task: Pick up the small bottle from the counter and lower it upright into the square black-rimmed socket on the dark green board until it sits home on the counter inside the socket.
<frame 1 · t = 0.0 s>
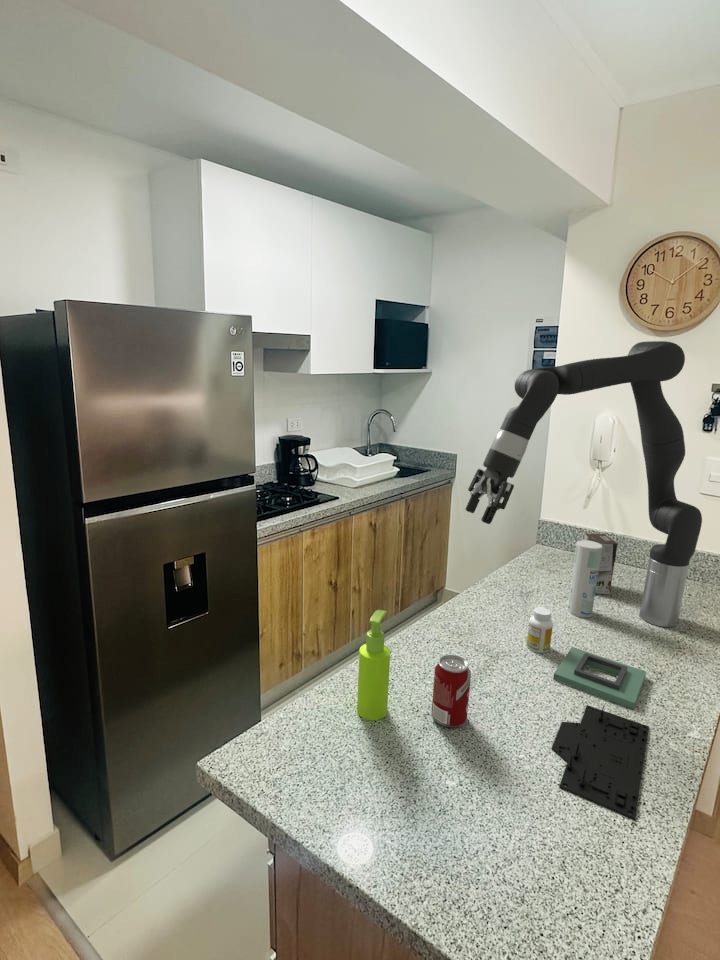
hand: (477, 517, 125), 31 cm above the worktop, tool tilted 20°, fingers open, 8 cm apart
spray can: (579, 612, 148), on the worktop
soda can: (448, 719, 103), on the worktop
circuit board: (597, 755, 96), on the worktop
socket board: (599, 678, 118), on the worktop
coffee box: (593, 588, 165), on the worktop
soap dispenser: (372, 709, 105), on the worktop
supplement bottle: (537, 648, 129), on the worktop
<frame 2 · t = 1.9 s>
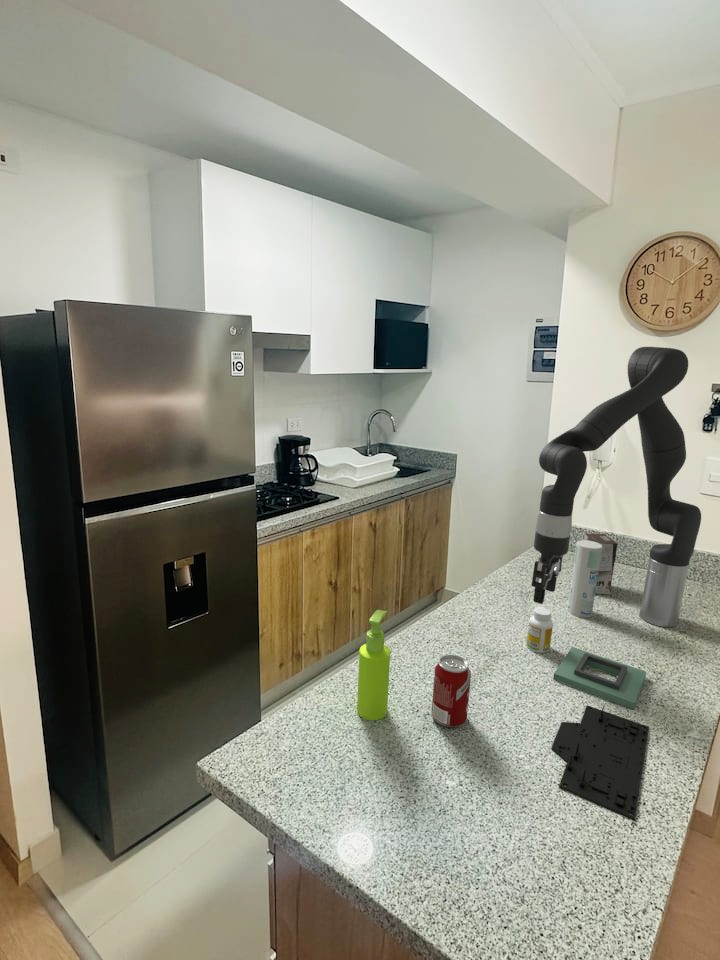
hand: (544, 596, 126), 13 cm above the worktop, tool pointing down, fingers open, 8 cm apart
nothing on the worktop moved.
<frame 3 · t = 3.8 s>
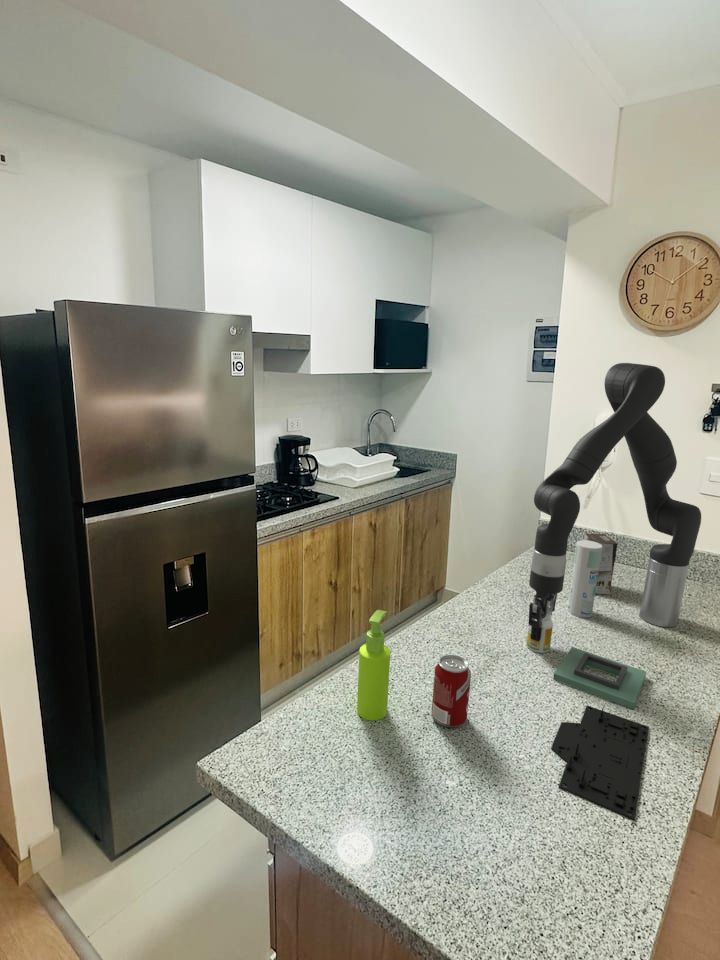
hand: (539, 634, 129), 3 cm above the worktop, tool pointing down, fingers closed on supplement bottle, 5 cm apart
supplement bottle: (537, 648, 129), on the worktop, touching gripper
everything else where it was.
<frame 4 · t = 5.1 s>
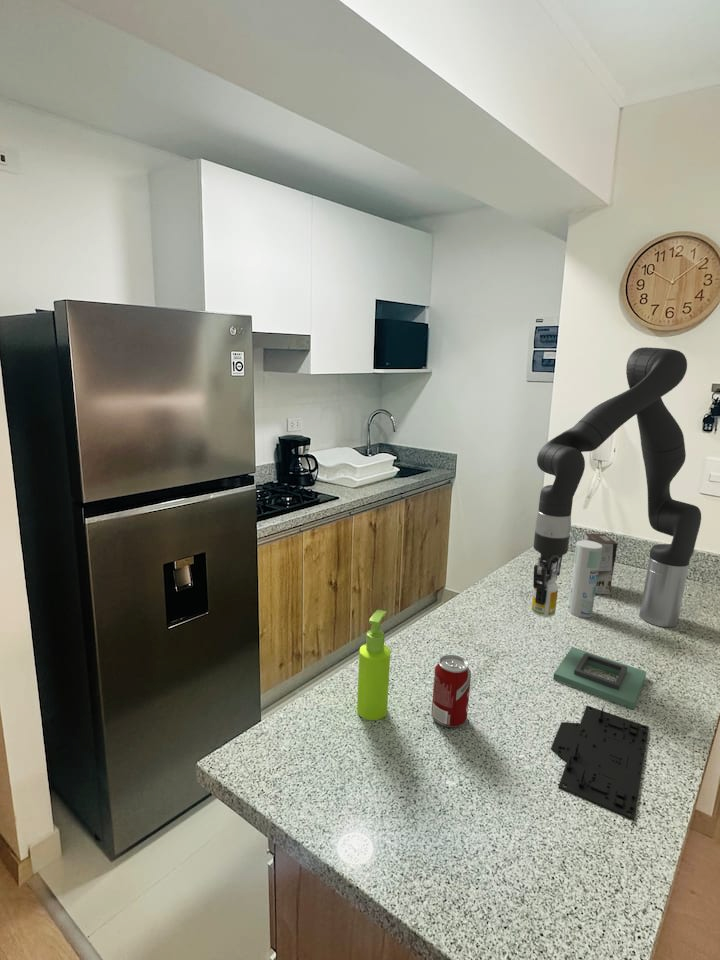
hand: (544, 598, 127), 13 cm above the worktop, tool pointing down, fingers closed on supplement bottle, 5 cm apart
supplement bottle: (542, 612, 127), point 9 cm above the worktop, touching gripper
everything else where it was.
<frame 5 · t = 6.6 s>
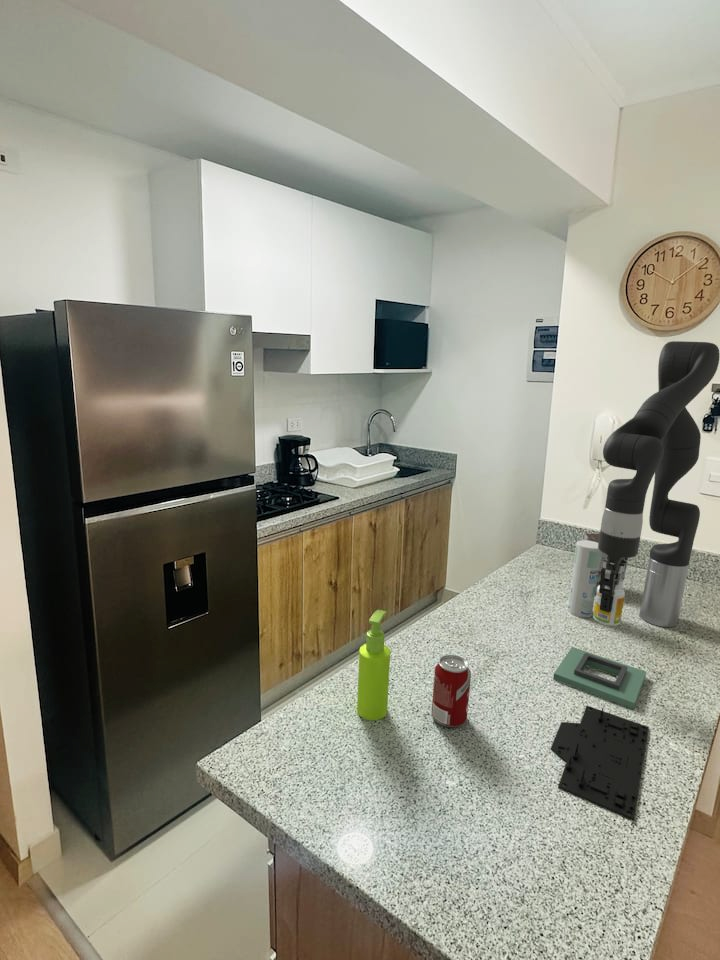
hand: (608, 605, 114), 17 cm above the worktop, tool pointing down, fingers closed on supplement bottle, 5 cm apart
supplement bottle: (606, 621, 115), point 14 cm above the worktop, touching gripper
everything else where it was.
when the fingers open (5 cm above the worktop, at t = 9.3 s): supplement bottle drops 1 cm, resting in socket board.
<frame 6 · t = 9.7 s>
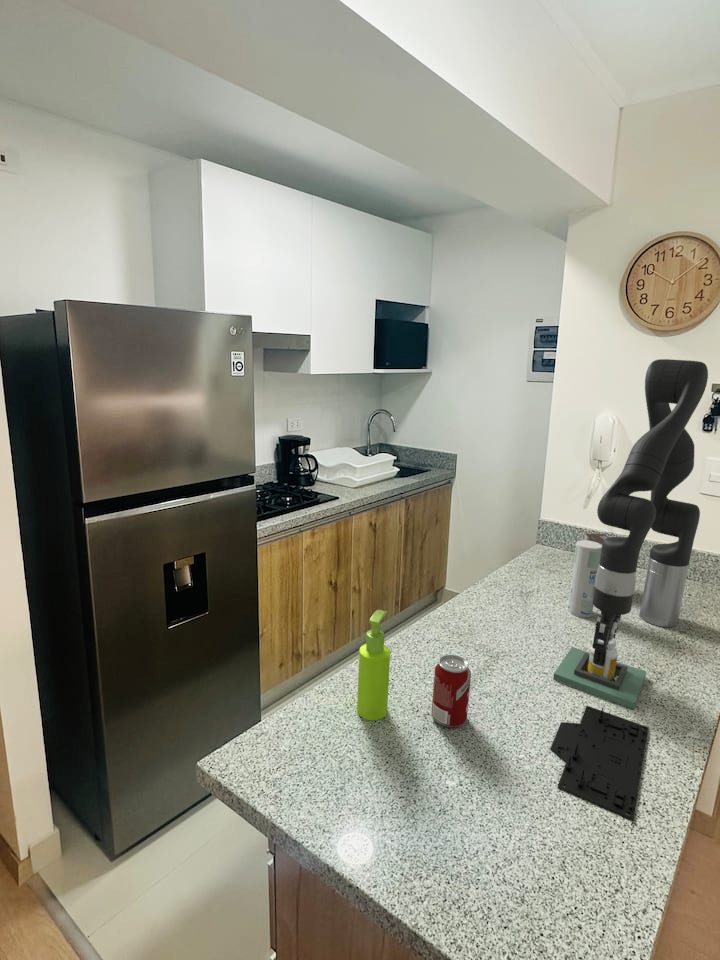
hand: (603, 655, 116), 6 cm above the worktop, tool pointing down, fingers open, 8 cm apart
supplement bottle: (599, 679, 118), resting in socket board
everything else where it was.
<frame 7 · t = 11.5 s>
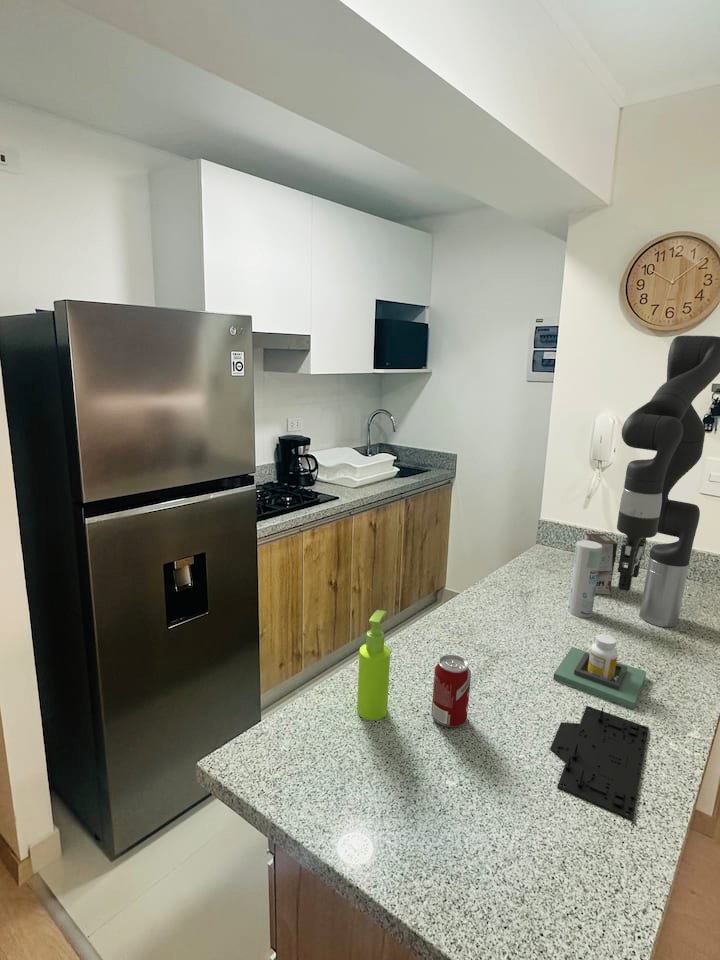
hand: (628, 582, 115), 22 cm above the worktop, tool pointing down, fingers open, 8 cm apart
nothing on the worktop moved.
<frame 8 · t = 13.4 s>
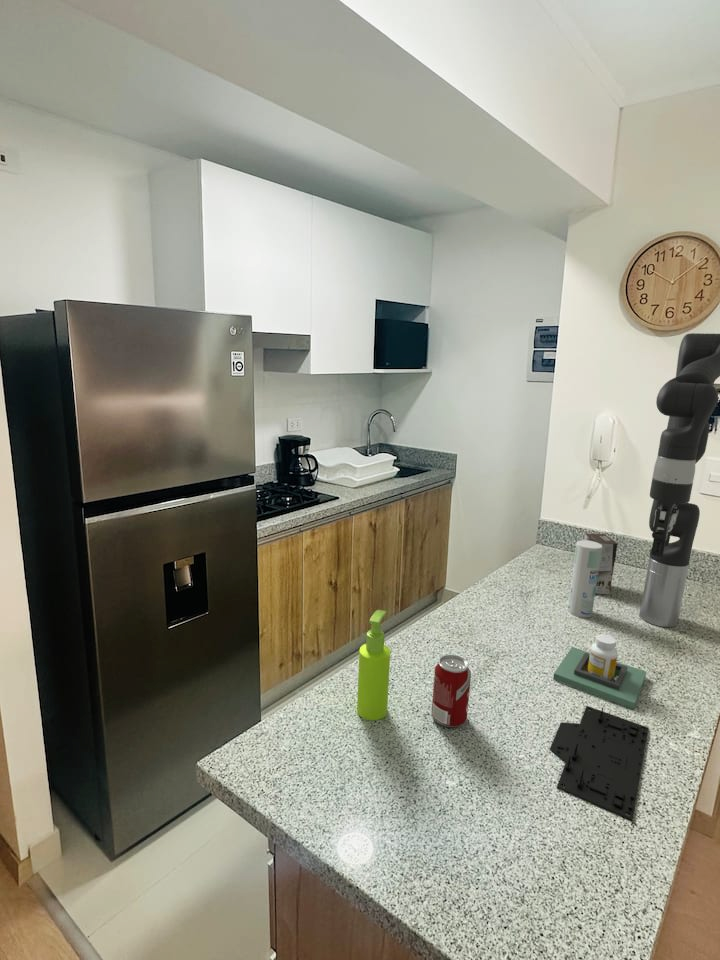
hand: (659, 550, 117), 28 cm above the worktop, tool pointing down, fingers open, 8 cm apart
nothing on the worktop moved.
at the end: supplement bottle 0.1 cm off-centre on the socket board, point 0.0 cm above the socket board's base; supplement bottle tilted 0°; the gripper is holding nothing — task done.
